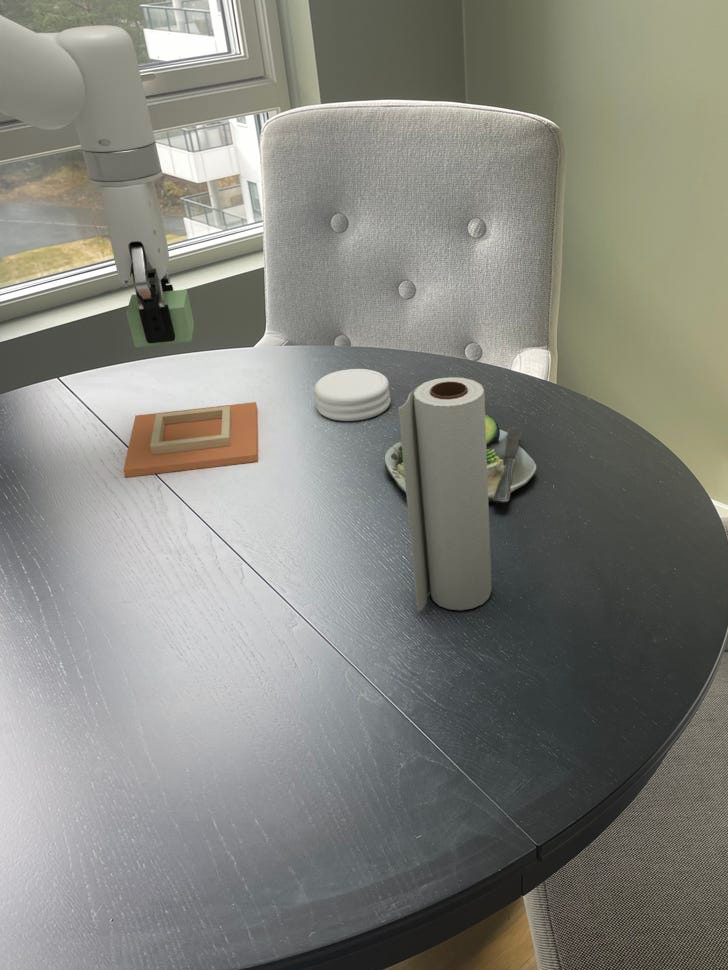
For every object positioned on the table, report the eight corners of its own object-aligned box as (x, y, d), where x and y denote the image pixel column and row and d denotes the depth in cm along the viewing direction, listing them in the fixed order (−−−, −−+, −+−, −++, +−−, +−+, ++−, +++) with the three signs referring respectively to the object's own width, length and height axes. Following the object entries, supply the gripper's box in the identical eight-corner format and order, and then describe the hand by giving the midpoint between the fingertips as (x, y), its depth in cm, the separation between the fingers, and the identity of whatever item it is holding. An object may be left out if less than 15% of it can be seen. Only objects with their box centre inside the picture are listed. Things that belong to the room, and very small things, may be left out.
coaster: (311, 398, 134) (307, 374, 132) (381, 386, 136) (378, 362, 134) (324, 427, 126) (321, 402, 124) (398, 415, 129) (396, 390, 127)
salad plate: (571, 500, 109) (572, 464, 106) (419, 533, 105) (416, 496, 102) (509, 431, 124) (509, 397, 121) (374, 457, 119) (370, 422, 116)
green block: (134, 347, 111) (125, 312, 109) (140, 328, 116) (131, 294, 114) (191, 341, 112) (183, 307, 109) (194, 322, 117) (187, 289, 114)
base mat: (125, 477, 118) (120, 461, 116) (137, 422, 130) (132, 406, 129) (258, 461, 120) (254, 445, 118) (257, 408, 132) (254, 393, 131)
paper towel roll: (490, 575, 98) (483, 373, 85) (492, 611, 93) (485, 401, 80) (419, 578, 98) (401, 376, 85) (417, 614, 93) (397, 405, 80)
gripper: (97, 150, 109) (138, 309, 120) (75, 186, 95) (123, 361, 106) (165, 145, 110) (199, 303, 121) (152, 179, 96) (192, 354, 107)
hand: (163, 329), depth 114 cm, fingers closed on green block, 6 cm apart
